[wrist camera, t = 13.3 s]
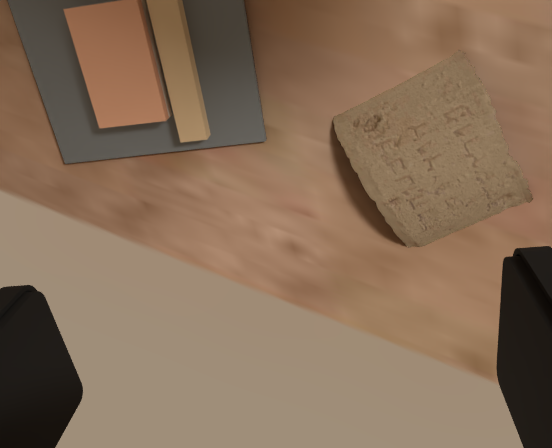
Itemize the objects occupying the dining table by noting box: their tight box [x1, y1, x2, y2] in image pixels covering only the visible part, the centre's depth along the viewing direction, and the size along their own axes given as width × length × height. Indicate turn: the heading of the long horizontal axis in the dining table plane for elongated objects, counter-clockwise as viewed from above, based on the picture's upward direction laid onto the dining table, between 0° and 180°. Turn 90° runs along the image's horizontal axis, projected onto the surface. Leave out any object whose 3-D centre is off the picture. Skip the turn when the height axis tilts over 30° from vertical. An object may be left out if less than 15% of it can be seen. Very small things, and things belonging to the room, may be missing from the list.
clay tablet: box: [333, 50, 533, 248], centre depth 37 cm, size 14×10×3 cm
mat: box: [7, 0, 266, 164], centre depth 35 cm, size 18×16×2 cm
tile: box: [63, 0, 172, 129], centre depth 35 cm, size 8×2×5 cm
